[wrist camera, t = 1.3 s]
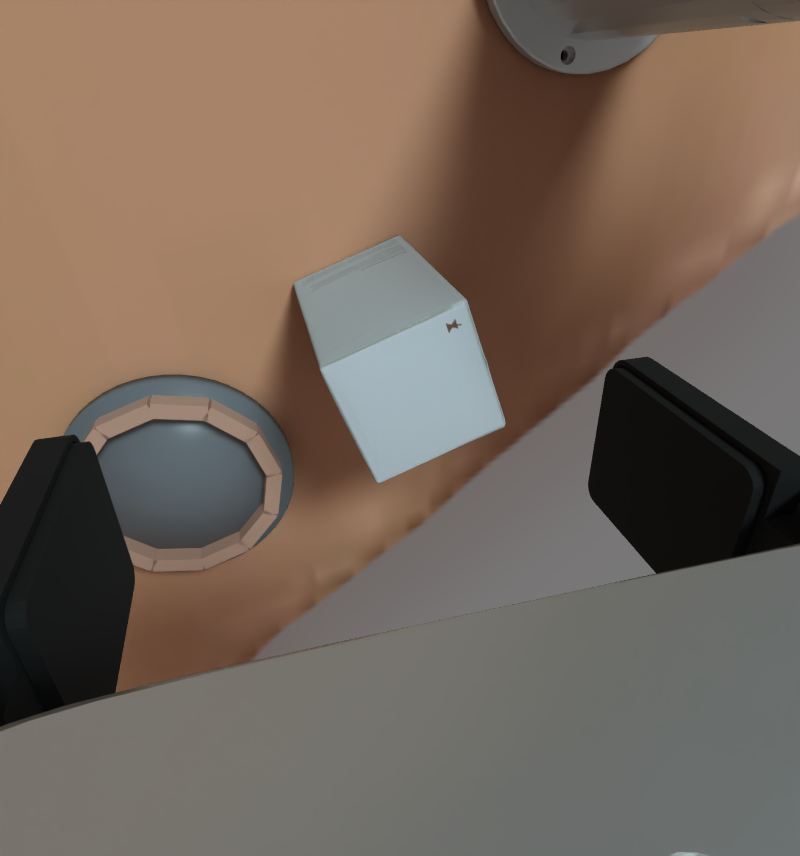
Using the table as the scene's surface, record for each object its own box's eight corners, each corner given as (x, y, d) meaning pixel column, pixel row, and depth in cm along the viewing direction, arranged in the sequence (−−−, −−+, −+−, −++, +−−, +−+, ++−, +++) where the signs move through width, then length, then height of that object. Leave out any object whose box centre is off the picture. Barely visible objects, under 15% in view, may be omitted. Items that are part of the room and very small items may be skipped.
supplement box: (289, 280, 36) (314, 365, 26) (401, 231, 37) (472, 295, 26) (336, 380, 40) (375, 488, 30) (437, 335, 41) (511, 427, 30)
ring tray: (229, 336, 37) (229, 350, 35) (325, 507, 45) (329, 526, 44) (2, 435, 37) (-10, 454, 35) (140, 590, 45) (137, 612, 43)
